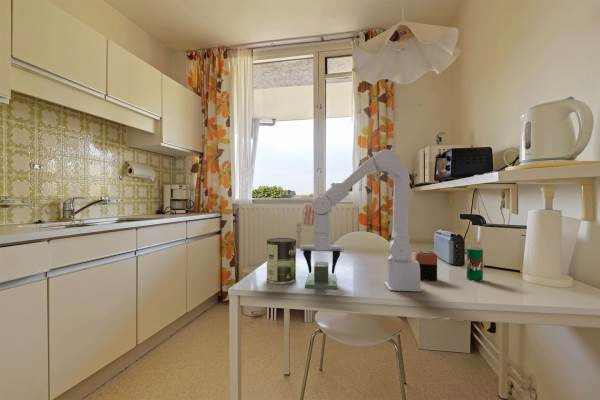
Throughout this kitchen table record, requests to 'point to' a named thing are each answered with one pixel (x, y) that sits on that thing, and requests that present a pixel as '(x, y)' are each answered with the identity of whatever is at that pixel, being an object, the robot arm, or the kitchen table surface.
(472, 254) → the soda can
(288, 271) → the coffee can
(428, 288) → the kitchen table surface
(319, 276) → the block
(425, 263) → the battery
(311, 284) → the header board
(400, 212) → the robot arm
